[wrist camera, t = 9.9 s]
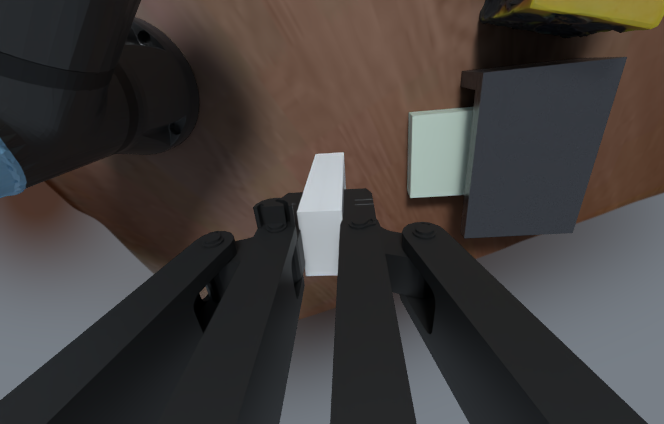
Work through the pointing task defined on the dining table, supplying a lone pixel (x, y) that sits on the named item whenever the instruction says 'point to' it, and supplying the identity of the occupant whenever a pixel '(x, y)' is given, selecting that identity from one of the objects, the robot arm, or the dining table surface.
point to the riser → (534, 143)
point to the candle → (573, 15)
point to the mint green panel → (438, 152)
